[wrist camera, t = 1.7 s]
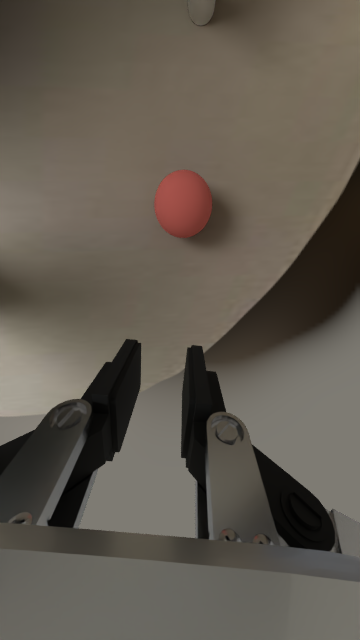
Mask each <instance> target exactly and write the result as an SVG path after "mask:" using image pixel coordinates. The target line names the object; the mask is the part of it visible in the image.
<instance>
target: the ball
mask: <svg viewBox="0 0 360 640" xmlns="http://www.w3.org/2000/svg"><path fill="white" fill-rule="evenodd" d="M154 206H155V213H156V217H157V219H158V221H159V223H160V225H161V226H162V228H163V229H164V230H165V231H166V232H168V233H169V234H171V235H173V236H175V237H179V238H187V237H191V236H193V235H195V234H197V233H199V232H200V231H201V230H202V229H203V228H204V227H205V225H206V224H207V222H208V220H209V218H210V215H211V211H212V196H211V192H210V189H209V187H208V185H207V183H206V182H205V180H204V179H203V178H202V177H201V176H199V175H198V174H197V173H195V172H192V171H189V170H178V171H175V172H172V173H171V174H169V175H168V176H166V177H165V178H164V179H163V181H162V182H161V183H160V185H159V187H158V189H157V192H156V195H155V202H154Z"/></svg>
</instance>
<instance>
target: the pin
mask: <svg viewBox="0 0 360 640" xmlns="http://www.w3.org/2000/svg"><path fill="white" fill-rule="evenodd" d="M215 2H216V0H188V13H189V16H190V18H191V20H192V21H193V22H194V23H195V24H196V25H199V26H202V25H205V24H207V23H208V22H209V21H210V19H211V18H212V16H213V13H214V9H215Z"/></svg>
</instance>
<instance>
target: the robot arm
mask: <svg viewBox="0 0 360 640" xmlns="http://www.w3.org/2000/svg"><path fill="white" fill-rule="evenodd" d="M140 383H141V343H138V341H137V340H130V339H126V341H125V342H124V344H123V345H122V347H121V348H120V350H119V352H118V353H117V355H116V356H115V358H114V359H113V361H112V362H106V363H105V364H104V366H103V367H102V369H101V370H100V371H99V373H98V374H97V376H96V377H95V379H94V380H93V382H92V383H91V385H90V386H89V388H88V389H87V390H86V392H85V393H84V395H83V396H82V398H81V399H72V400H68V401H65V402H63V403H60V404H58V405H57V406H55V407H54V408H52V409H51V410H50V411H49V412H48V414H47V415H46V416H45V417H44V419H43V420H42V421H41V423H40V424H39V425H38V427H37V428H36V429H35V430H33V431H31V432H29V433H27V434H25V435H23V436H20V437H18V438H16V439H14V440H12V441H10V442H8V443H6V444H4V445H1V446H0V640H360V523H359V522H357V521H355V520H353V519H351V518H349V517H348V516H346V515H344V514H342V513H340V512H338V511H336V510H335V509H332V510H331V512H330V511H328V510H326V509H325V508H324V507H323V505H322V504H321V503H320V501H319V500H318V499H317V498H316V497H315V496H314V495H313V494H312V493H311V492H310V491H309V490H307V489H306V488H305V487H304V486H303V485H301V484H300V483H299V482H298V481H296V480H295V479H294V478H293V477H291V476H290V475H289V474H288V473H287V472H285V471H284V470H283V469H282V468H280V467H279V466H278V465H277V464H275V463H274V462H273V461H272V460H271V459H269V458H268V457H267V456H266V455H264V454H263V453H262V452H261V451H259V450H258V449H257V448H256V447H255V446H253V445H252V444H251V440H250V437H249V433H248V431H247V428H246V426H245V425H244V423H243V422H242V421H241V420H240V419H238V418H237V417H236V416H234V415H232V414H230V413H227V412H226V409H225V406H224V401H223V397H222V393H221V389H220V385H219V381H218V377H217V374H216V372H212V371H206V367H205V360H204V355H203V349H202V346H195V345H192V346H191V348H187V356H186V364H185V373H184V381H183V391H182V435H181V436H182V437H181V438H182V439H181V440H182V441H181V458H186V467H187V468H188V470H189V472H190V473H191V474H192V475H193V477H194V478H195V479H196V481H195V538H186V537H175V536H163V535H151V534H139V533H126V532H115V531H102V530H90V529H78V528H79V525H80V522H81V519H82V516H83V513H84V510H85V508H86V505H87V501H88V499H89V496H90V493H91V490H92V487H93V484H94V481H95V478H96V475H97V471H98V468H99V467H101V466H102V465H104V464H105V462H106V461H112V460H113V457H114V454H115V452H120V449H121V446H122V443H123V440H124V437H125V434H126V431H127V428H128V424H129V421H130V418H131V415H132V412H133V408H134V405H135V402H136V399H137V396H138V393H139V390H140Z"/></svg>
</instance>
